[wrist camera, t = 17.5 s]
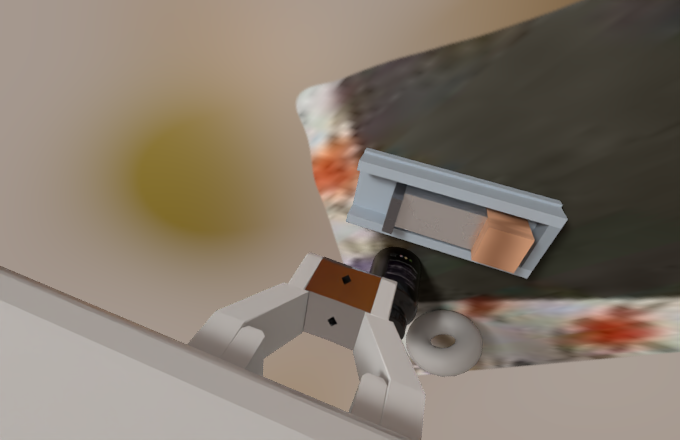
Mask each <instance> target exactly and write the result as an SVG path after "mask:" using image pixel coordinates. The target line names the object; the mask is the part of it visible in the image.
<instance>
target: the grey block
mask: <svg viewBox="0 0 680 440" xmlns="http://www.w3.org/2000/svg"><path fill="white" fill-rule="evenodd" d="M487 218H488V215H487V209H486V207H484V206H480V205H477V204H473V203H470V202H466V201H463V200H459V199H456V198H452V197H449V196H445V195H442V194H438V193H435V192H431V191H428V190H425V189H421V188H418V187H414V186H411V185H407V184H404V183H400V182H397V183H396V186H395V189H394V192H393V195H392V198H391V201H390V204H389V208H388V211H387V214H386V218H385V221H384V224H383V228H382V232H386V233H389V234H392V232H393V229H394V226H395V227H399V228H402V229H405V230H408V231H412V232H415V233H418V234H421V235H424V236H428V237H431V238H434V239H437V240H441V241H444V242H447V243H450V244H454V245H457V246H460V247H463V248H466V249H470V250H471V249H472V247H473V245H474V243H475V241H476V239H477V238H478V236H479V234H480V232H481V230H482V228H483V226H484V224H485V222H486V220H487Z"/></svg>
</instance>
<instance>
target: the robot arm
mask: <svg viewBox="0 0 680 440" xmlns="http://www.w3.org/2000/svg"><path fill="white" fill-rule="evenodd" d="M396 288H397V282H396V281H393V280H390V279H387V278H384V277H382V278H381V277H380V276H377V275H374V274H371V273H368V272H365V271H362V270H359V269H356V268H353V267H350V266H348V265H345V264H342V263H340V262H336V261H334V260H331V259H329V258H326V257H322V256H319V255H317V254H314V253H311V252H310V253H308V254H307V255H306V257H305V258H304V260H303V261H302V263H301V264H300V266H299V268H298V269H297V270H296V272H295V273H294V275H293V277H292V278H291V279H290V281H289V283H288V284H287V283H284V282H283V283H281V284H278V285H276V286H273V287H271V288H269V289H267V290H264V291H262V292H260V293H257V294H254V295H252V296H250V297H247V298H245V299H243V300H241V301H238V302H236V303H233V304H231V305H229V306H226V307H224V308H221V309H219V310H216V311H215V312H214V313H213V315H212V316H211V317H210V318H209V319H208V321H207V322H206V323H205V324H204V325H203V327H202V328H201V329H200V330H199V331H198V333H197V334H196V335H195V336H194V337H193V338H192V340H191V341H190V342H189V343H188V344H184V343H182V342H179V341H177V340H175V339H172V338H170V337H168V336H165V335H163V334H160V333H158V332H156V331H154V330H151V329H149V328H146V327H144V326H142V325H139V324H137V323H135V322H132V321H130V320H127V319H125V318H123V317H120V316H118V315H116V314H113V313H111V312H108V311H106V310H104V309H101V308H99V307H97V306H94V305H92V304H90V303H87V302H85V301H82V300H80V299H78V298H75V297H73V296H71V295H68V294H66V293H63V292H61V291H59V290H56V289H54V288H52V287H49V286H47V285H45V284H42V283H40V282H37V281H35V280H33V279H30V278H28V277H26V276H23V275H21V274H18V273H16V272H14V271H11V270H9V269H7V268H4V267H2V266H0V440H421V436H422V425H423V415H424V404H425V392H424V390H423V388H422V385H421V383H420V381H419V379H418V376H417V374H416V372H415V370H414V368H413V365H412V363H411V361H410V359H409V356H408V354H407V352H406V350H405V347H404V345H403V343H402V341H401V338H400V336H399V334H398V332H397V330H396V327H395V325H394V323H393V322H391V321H389V317H390V313H391V309H392V304H393V300H394V296H395V292H396ZM303 331H304V332H307V333H310V334H312V335H316V336H318V337H321V338H324V339H326V340H329V341H332V342H334V343H336V344H339V345H341V346H343V347H346V348H348V349H351V350H353V355H354V358H355V363H356V367H357V372H358V376H359V380H360V383H359V386H358V388H357V391H356V394H355V397H354V399H353V402H352V405H351V407H350V410H349V413H348V412H346V411H343V410H341V409H338V408H336V407H334V406H331V405H329V404H327V403H324V402H322V401H320V400H317V399H315V398H312V397H310V396H308V395H305V394H303V393H301V392H298V391H296V390H293V389H291V388H288V387H286V386H284V385H281V384H279V383H277V382H274V381H272V380H270V379H267V378H265V377H263V359H264V358H265V357H266V356H268V355H270V354H271V353H273V352H274V351H276V350H277V349H279V348H280V347H282V346H283V345H285V344H286V343H288V342H289V341H291V340H292V339H294V338H295V337H297V336H298V335H300V334H301V333H302V332H303Z"/></svg>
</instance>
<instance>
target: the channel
mask: <svg viewBox="0 0 680 440" xmlns="http://www.w3.org/2000/svg"><path fill="white" fill-rule="evenodd" d="M357 170H359V171H360V175H359V179H358V184H357V188H356V193H355V197H354V202H353V205H352V207H351V209H350V211H349V212H348V215H347V219H346V222H348V223H351V224H355V225H358V226H361V227H364V228H367V229H371V230H374V231H377V232H380V233H383V234H386V235H390V236H393V237H396V238H399V239H402V240H406V241H409V242H412V243H415V244H418V245H421V246H425V247H428V248H431V249H434V250H437V251H440V252H444V253H447V254H450V255H453V256H456V257H460V258H463V259H466V260H469V261H472V260H471V250H470V249H466V248H463V247H460V246H457V245H454V244H450V243H447V242H444V241H441V240H437V239H434V238H431V237H428V236H424V235H421V234H418V233H415V232H412V231H408V230H405V229H402V228H399V227H395V226H394V229H393V232H392V234H389V233H386V232H382V228H383V224H384V221H385V218H386V214H387V211H388V208H389V204H390V201H391V198H392V195H393V192H394V189H395V186H396V183H397V182H400V183H404V184H407V185H411V186H414V187H418V188H421V189H425V190H428V191H431V192H435V193H438V194H442V195H445V196H449V197H452V198H456V199H459V200H463V201H466V202H470V203H473V204H477V205H480V206H484V207H487V208H491V209H494V210H497V211H501V212H504V213H508V214H511V215H515V216H518V217H522V218H525V219H527V220H528V223H529V226H530V229H531V231H532V234H533V237H534V240H535V241H534V243H533V244H532V246H531V248H530V249H529V251H528V252H527V254H526V255H525V257H524V258H523V260H522V261H521V263H520V265H519V266H518V268H517V269H516V271H515V272H514V273H511V272H507V271H504V270H501V269H498V268H495V267H491V266H488V265H485V264H482V263H479V262H476V261H472V262H475V263H479V264H482V265H485V266H488V267H491V268H495V269H498V270H501V271H504V272H507V273H510V274H514V275H517V276H520V277H523V278H526V279H527V278H528V277H529V275H530V274H531V272H532V271H533V269H534V268H535V266H536V265H537V263H538V262H539V261H540V259H541V258H542V256H543V255H544V253H545V252H546V250H547V249H548V247H549V246H550V245H551V243H552V242H553V240H554V239H555V237H556V236H557V234H558V233H559V231H560V230H561V228H562V227H563V226H564V224H565V223H566V221H567V220H568V219H567V217H566V215H565V213H564V212H563V210H562V208H561V207H562V206H563V205H562V203H561V201H559V200H555V199H551V198H548V197H544V196H541V195H537V194H533V193H530V192H526V191H522V190H519V189H515V188H512V187H508V186H504V185H501V184H497V183H493V182H490V181H486V180H483V179H479V178H475V177H472V176H468V175H464V174H461V173H457V172H454V171H450V170H446V169H443V168H439V167H435V166H432V165H428V164H425V163H421V162H417V161H414V160H410V159H406V158H403V157H399V156H395V155H392V154H388V153H385V152H381V151H377V150H374V149H370V148H366V150H365V153H364V154H363V156H362V157H361V159H360V160H359V164H358V169H357Z"/></svg>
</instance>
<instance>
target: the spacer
mask: <svg viewBox="0 0 680 440" xmlns="http://www.w3.org/2000/svg"><path fill="white" fill-rule="evenodd" d="M486 209H487V215H488V218H487V220H486V222H485V224H484V226H483V228H482V230H481V232H480V234H479V236H478V238H477V239H476V241H475V243H474V245H473V247H472V249H471V260H472V261H476V262H479V263H482V264H485V265H488V266H491V267H495V268H498V269H501V270H504V271H507V272H511V273H514V272H515V271H516V269H517V268H518V266H519V265H520V263H521V261H522V260H523V258H524V257H525V255H526V254H527V252H528V251H529V249H530V248H531V246H532V244H533V243H534V241H535V240H534V237H533V234H532V231H531V229H530V226H529V223H528V220H527V219H525V218H522V217H518V216H515V215H511V214H508V213H504V212H501V211H497V210H494V209H491V208H487V207H486Z"/></svg>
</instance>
